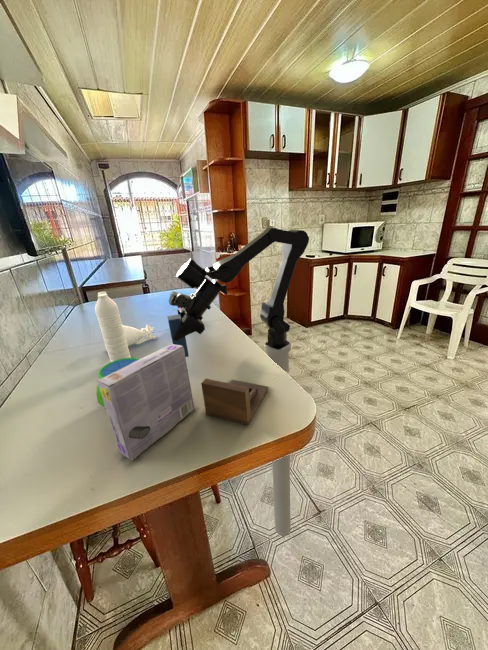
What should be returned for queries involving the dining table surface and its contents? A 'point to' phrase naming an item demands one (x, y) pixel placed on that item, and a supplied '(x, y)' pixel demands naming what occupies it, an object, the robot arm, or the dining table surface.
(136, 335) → the rocket engine
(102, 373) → the snack cup
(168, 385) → the cake pan box
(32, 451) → the dining table surface
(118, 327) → the water bottle
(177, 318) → the back pad
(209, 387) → the pad seat
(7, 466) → the dining table surface
